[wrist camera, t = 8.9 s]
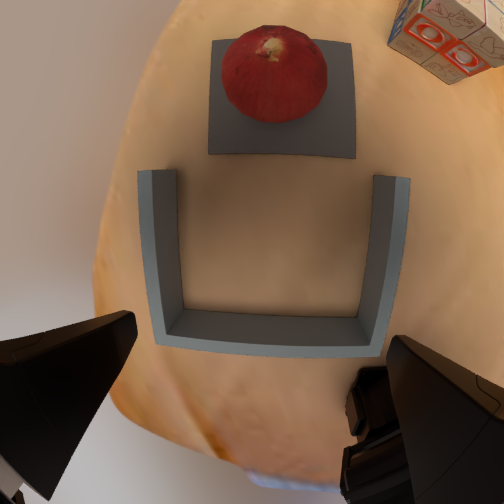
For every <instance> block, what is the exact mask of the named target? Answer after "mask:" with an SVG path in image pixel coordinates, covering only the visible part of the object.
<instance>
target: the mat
mask: <svg viewBox="0 0 504 504" xmlns="http://www.w3.org/2000/svg"><path fill="white" fill-rule="evenodd" d="M237 39H238V38H237ZM237 39H224V40H214V41H212V53H211V71H210V95H209V131H208V154H291V155H311V156H326V157H339V158H350V159H356V108H355V86H354V71H353V59H352V49H351V43H344V42H336V41H328V40H318V39H311V40H312V41H313V42H314V43H315V44H316V45H317V46H318V47H319V48H320V50H321V52H322V54H323V57H324V59H325V62H326V64H327V89H326V91H325V93H324V95H323V97H322V99H321V101H320V103H319V105H318V106H317V107H315V108H314V109H313V110H311V111H310V112H309V113H307V114H306V115H305V116H303V117H301V118H298V119H294V120H291V121H287V122H284V123H269V122H261V121H258V120H256V119H253V118H251V117H248V116H246V115H244V114H242V113H241V112H240V111H239V110H238V109H237V108H236V107H235V106H234V105H233V104H232V103H231V102H229V100H228V98H227V95H226V92H225V90H224V87H223V84H222V81H221V68H222V59H223V57H224V55H225V54H226V52H227V50H228V48H229V46H230V45H231V44H232V43H233V42H235V41H236V40H237Z"/></svg>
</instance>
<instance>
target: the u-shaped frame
mask: <svg viewBox="0 0 504 504" xmlns="http://www.w3.org/2000/svg"><path fill="white" fill-rule="evenodd" d="M409 196H410V178H403V177H396V176H380V175H374V184H373V201H372V215H371V226H370V236H369V245H368V253H367V261H366V268H365V275H364V282H363V288H362V294H361V300H360V305H359V310H358V316H357V317H295V316H271V315H253V314H237V313H224V312H211V311H200V310H190V309H184V305H183V294H182V283H181V271H180V257H179V241H178V220H177V186H176V170H144V171H138V203H139V221H140V234H141V246H142V256H143V265H144V274H145V282H146V289H147V296H148V303H149V310H150V316H151V322H152V327H153V333H154V338H155V343H156V344H158V345H164V346H170V347H177V348H184V349H192V350H199V351H208V352H217V353H227V354H238V355H250V356H266V357H287V358H358V357H379V356H380V353H381V350H382V346H383V343H384V339H385V336H386V332H387V328H388V325H389V321H390V317H391V313H392V308H393V304H394V299H395V295H396V290H397V285H398V280H399V275H400V269H401V263H402V257H403V251H404V244H405V236H406V228H407V219H408V209H409Z"/></svg>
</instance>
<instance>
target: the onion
mask: <svg viewBox="0 0 504 504" xmlns="http://www.w3.org/2000/svg"><path fill="white" fill-rule="evenodd" d="M221 81H222V84H223V87H224V90H225V92H226V95H227V98H228V100H229V102H231V103H232V104H233V105H234V106H235V107H236V108H237V109H238V110H239V111H240V112H241V113H242V114H244V115H246V116H248V117H251V118H253V119H256V120H258V121H261V122H269V123H284V122H287V121H291V120H294V119H298V118H301V117H303V116H305V115H306V114H307V113H309V112H310V111H311V110H313V109H314V108H315V107H317V106H318V105H319V103H320V101H321V99H322V97H323V95H324V93H325V91H326V89H327V64H326V62H325V59H324V57H323V54H322V52H321V50H320V48H319V47H318V46H317V45H316V44H315V43H314V42H313V41H312V40H311V39H310V38H309V37H308V36H307V35H306V34H304V33H301V32H299V31H296V30H294V29H291V28H289V27H286V26H275V25H263V26H261V27H258V28H256V29H254V30H251V31H249V32H246V33H244V34H243V35H242V36H240V37H239V38H238V39H237V40H236V41H235V42H233V43H232V44H231V45H230V46H229V48H228V50H227V52H226V54H225V55H224V57H223V59H222V68H221Z"/></svg>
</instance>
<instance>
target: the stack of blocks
mask: <svg viewBox="0 0 504 504" xmlns="http://www.w3.org/2000/svg"><path fill="white" fill-rule="evenodd" d="M388 46H390V47H391V48H393V49H395V50H397V51H398V52H400V53H402V54H403V55H405V56H407V57H408V58H410V59H412V60H413V61H415V62H417V63H418V64H420V65H421V66H422V67H424V68H425V69H427V70H428V71H430V72H431V73H433V74H434V75H436V76H437V77H438V78H440V79H441V80H443V81H444V82H445V83H447V84H449V85H450V84H453V83H455V82H458V81H460V80H462V79H464V78H466V77H468V76H469V77H470V76H473V75H475V74H478V73H480V72H482V71H485V70H487V69H489V68H491V67H493V68H497V67H499V66H502V65H504V0H401V2H400V5H399V8H398V11H397V14H396V18H395V23H394V26H393V29H392V32H391V35H390V38H389V41H388Z"/></svg>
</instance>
